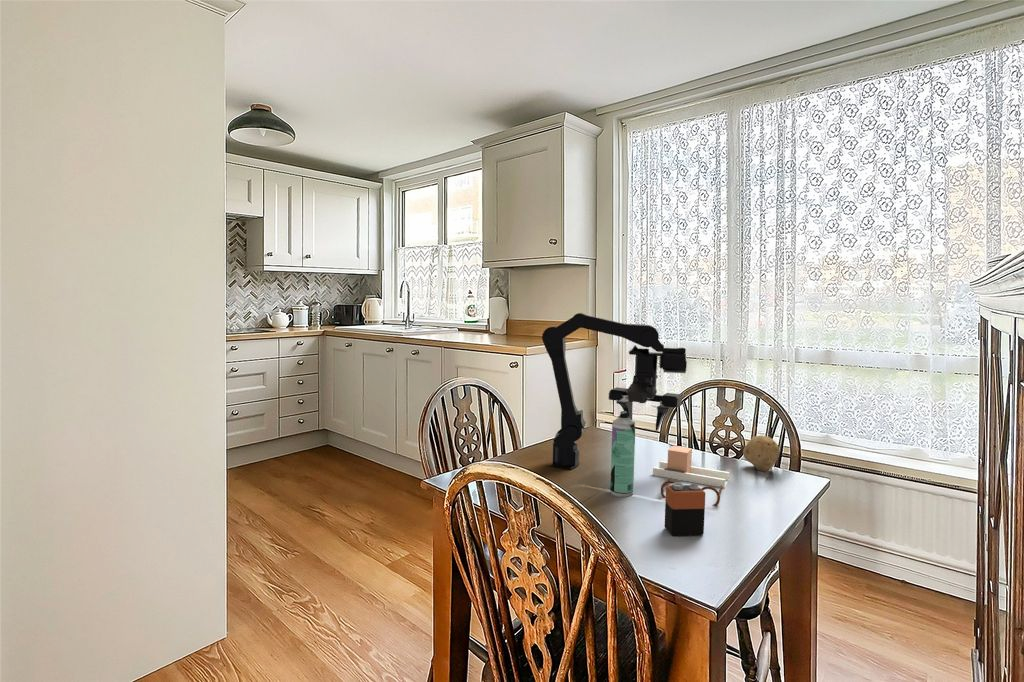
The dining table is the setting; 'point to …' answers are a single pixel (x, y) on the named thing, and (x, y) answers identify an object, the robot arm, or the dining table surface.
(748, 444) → the natural sponge
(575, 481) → the dining table surface
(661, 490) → the glasses
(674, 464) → the block
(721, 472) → the chute
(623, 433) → the spray can
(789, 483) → the dining table surface
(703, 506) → the battery
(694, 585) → the dining table surface
